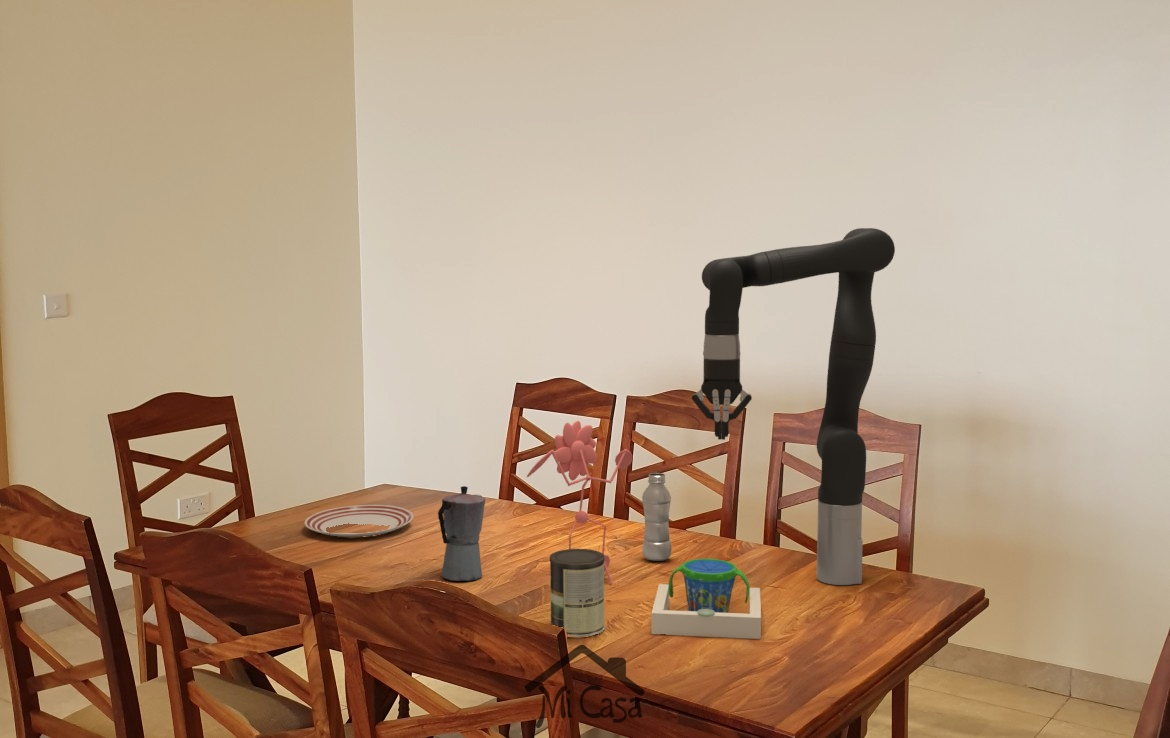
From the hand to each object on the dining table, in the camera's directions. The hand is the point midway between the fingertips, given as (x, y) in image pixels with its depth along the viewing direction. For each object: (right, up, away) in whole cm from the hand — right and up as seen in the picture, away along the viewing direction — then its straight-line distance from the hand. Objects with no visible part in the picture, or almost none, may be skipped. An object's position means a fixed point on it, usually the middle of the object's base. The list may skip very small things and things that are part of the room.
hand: (721, 438), depth 228 cm
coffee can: (-30, -35, -22) cm, 51 cm away
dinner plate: (-86, -27, +53) cm, 105 cm away
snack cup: (-4, -34, -16) cm, 37 cm away
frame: (-5, -34, -18) cm, 39 cm away
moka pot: (-55, -31, +11) cm, 64 cm away
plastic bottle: (-12, -30, +23) cm, 39 cm away
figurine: (-31, -31, +7) cm, 44 cm away
